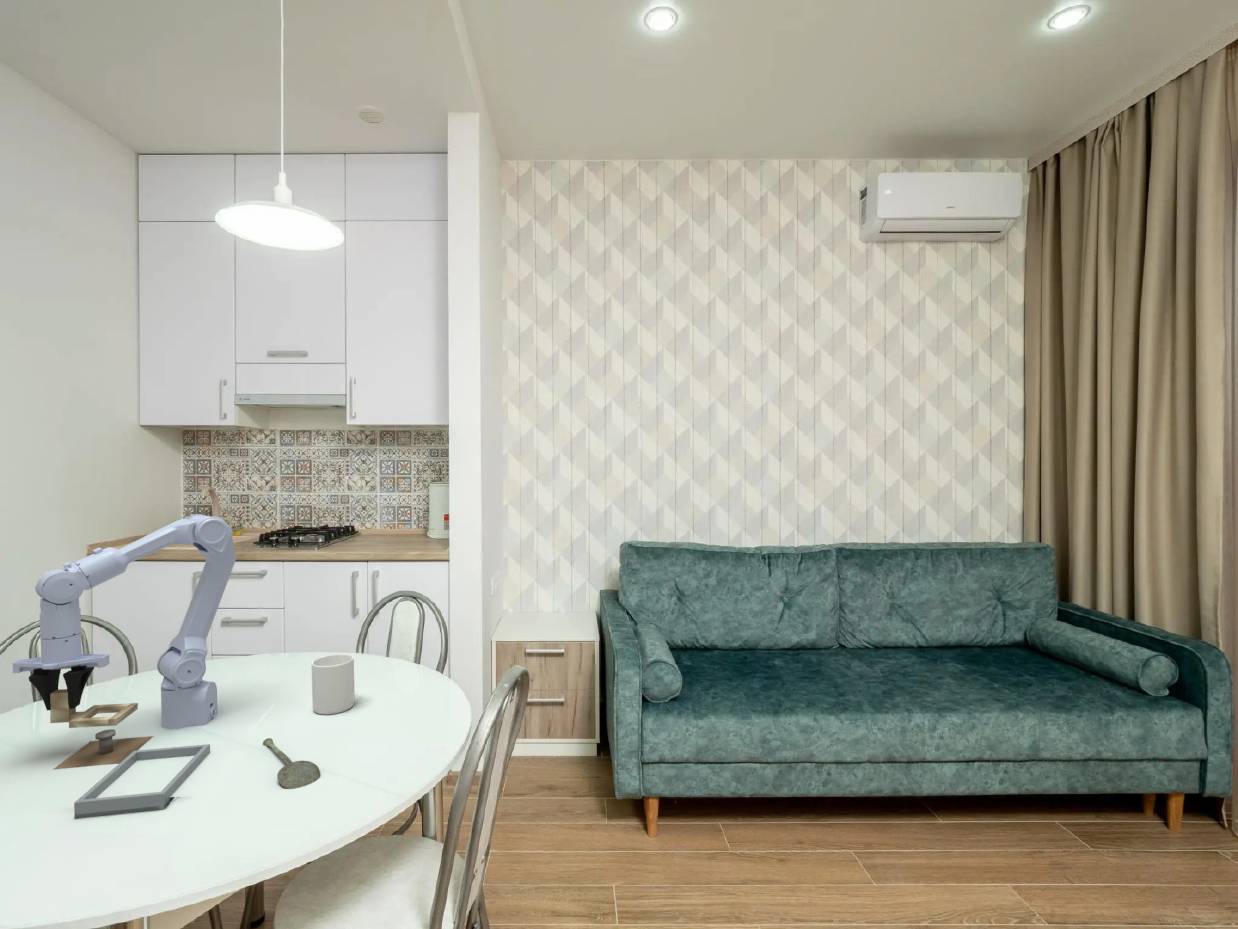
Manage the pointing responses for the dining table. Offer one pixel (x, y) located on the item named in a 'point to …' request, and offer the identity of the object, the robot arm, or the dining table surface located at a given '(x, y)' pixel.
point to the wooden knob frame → (86, 712)
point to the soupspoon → (294, 770)
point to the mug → (333, 683)
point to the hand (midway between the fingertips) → (63, 707)
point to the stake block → (104, 750)
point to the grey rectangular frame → (138, 802)
